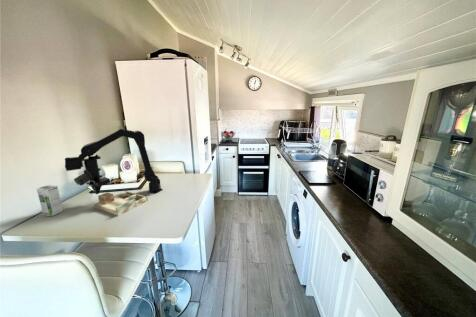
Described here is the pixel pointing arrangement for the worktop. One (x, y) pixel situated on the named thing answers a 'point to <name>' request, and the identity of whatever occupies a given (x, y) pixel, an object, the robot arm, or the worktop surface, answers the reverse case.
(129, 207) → the trap board
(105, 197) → the walnut block
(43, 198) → the syrup box
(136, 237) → the worktop surface
